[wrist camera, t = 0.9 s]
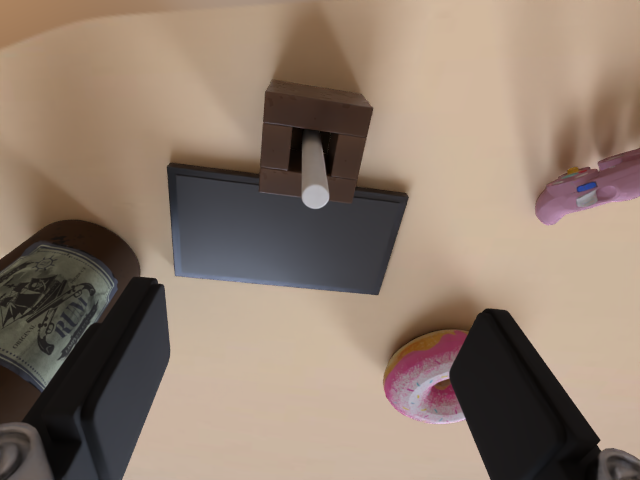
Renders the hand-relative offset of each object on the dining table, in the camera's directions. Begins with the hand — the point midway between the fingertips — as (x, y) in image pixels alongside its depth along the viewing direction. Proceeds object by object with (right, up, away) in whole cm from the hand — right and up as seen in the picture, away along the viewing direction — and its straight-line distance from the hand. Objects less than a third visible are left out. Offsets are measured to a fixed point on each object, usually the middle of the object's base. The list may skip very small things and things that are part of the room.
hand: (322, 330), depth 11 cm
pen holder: (-1, +11, +17) cm, 21 cm away
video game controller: (+23, +9, +20) cm, 32 cm away
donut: (+14, -12, +33) cm, 37 cm away
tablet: (-3, +3, +22) cm, 23 cm away
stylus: (-1, +11, +17) cm, 21 cm away
